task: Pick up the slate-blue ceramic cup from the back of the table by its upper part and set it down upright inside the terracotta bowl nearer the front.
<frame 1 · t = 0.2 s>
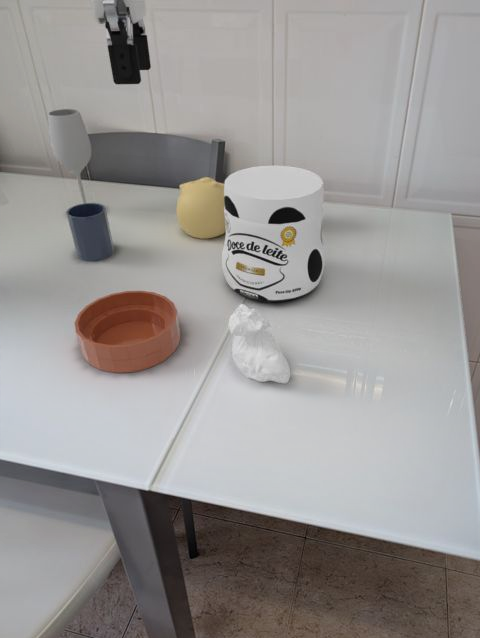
hand: (133, 76, 63), 33 cm above the table, tool pointing down, fingers open, 9 cm apart
milk container: (272, 284, 87), on the table
bowl: (132, 344, 73), on the table
wineglass: (87, 215, 111), on the table
bust: (257, 371, 68), on the table
sculpture: (207, 232, 103), on the table
cup: (96, 255, 95), on the table
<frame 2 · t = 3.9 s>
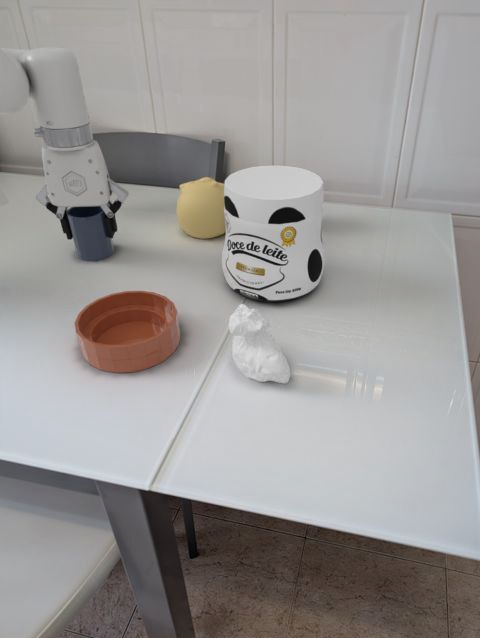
hand: (91, 235, 92), 4 cm above the table, tool pointing down, fingers closed on cup, 6 cm apart
cup: (96, 255, 95), on the table, touching gripper
everything else where it was.
when the fingers open (5 cm above the table, at t = 12.2 s): cup stays where it is, resting on bowl.
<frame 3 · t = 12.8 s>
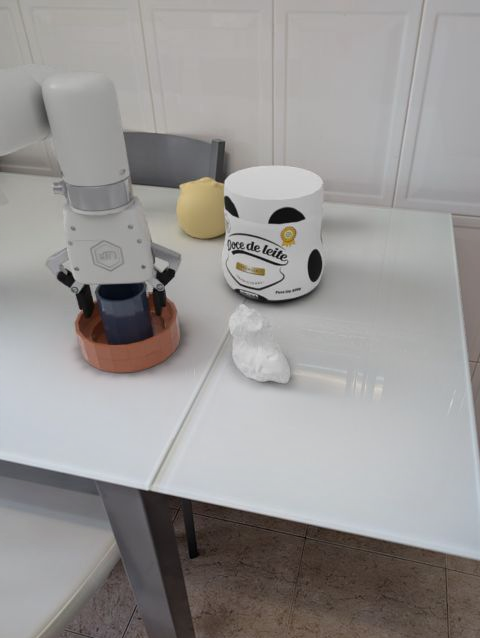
hand: (125, 311, 69), 6 cm above the table, tool pointing down, fingers open, 9 cm apart
cup: (132, 341, 72), point 1 cm above the table, touching bowl
everything else where it was.
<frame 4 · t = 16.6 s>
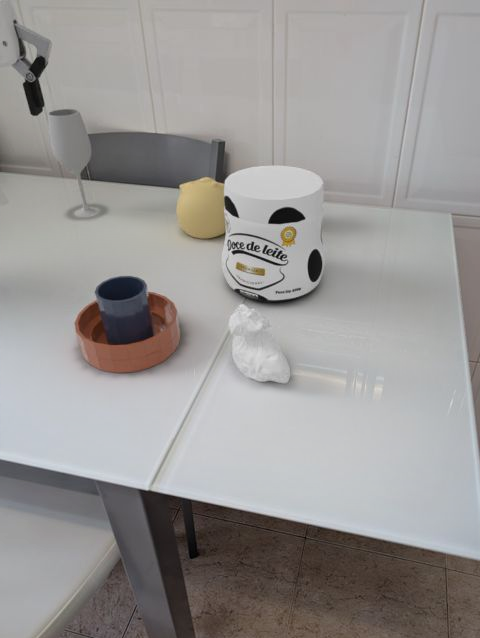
hand: (0, 114, 66), 28 cm above the table, tool pointing down, fingers open, 9 cm apart
nothing on the table moved.
at the end: cup 0.0 cm off-centre in the bowl, point 0.6 cm above the bowl's base; cup tilted 0°; the gripper is holding nothing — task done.
